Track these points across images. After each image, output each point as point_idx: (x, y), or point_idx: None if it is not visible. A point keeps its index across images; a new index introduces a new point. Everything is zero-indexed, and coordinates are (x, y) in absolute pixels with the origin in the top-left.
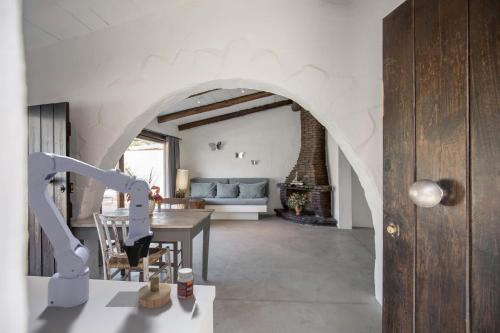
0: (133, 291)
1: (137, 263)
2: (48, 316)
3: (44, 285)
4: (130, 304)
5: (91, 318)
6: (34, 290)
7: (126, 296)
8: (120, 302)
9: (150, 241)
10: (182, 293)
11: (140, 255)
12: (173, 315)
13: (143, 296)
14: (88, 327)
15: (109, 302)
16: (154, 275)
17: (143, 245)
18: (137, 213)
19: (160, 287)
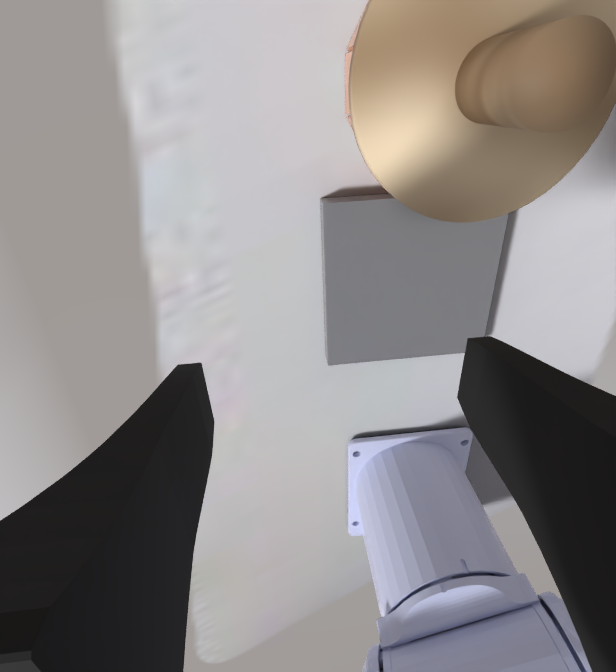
0: (328, 289)
1: (519, 350)
2: (484, 491)
3: (263, 618)
4: (488, 232)
5: (535, 356)
6: (302, 617)
7: (388, 300)
8: (455, 298)
9: (82, 509)
10: None
11: (212, 435)
12: None
13: (589, 136)
14: (604, 330)
15: (445, 350)
16: (531, 95)
17: (172, 523)
18: None
19: (454, 36)
